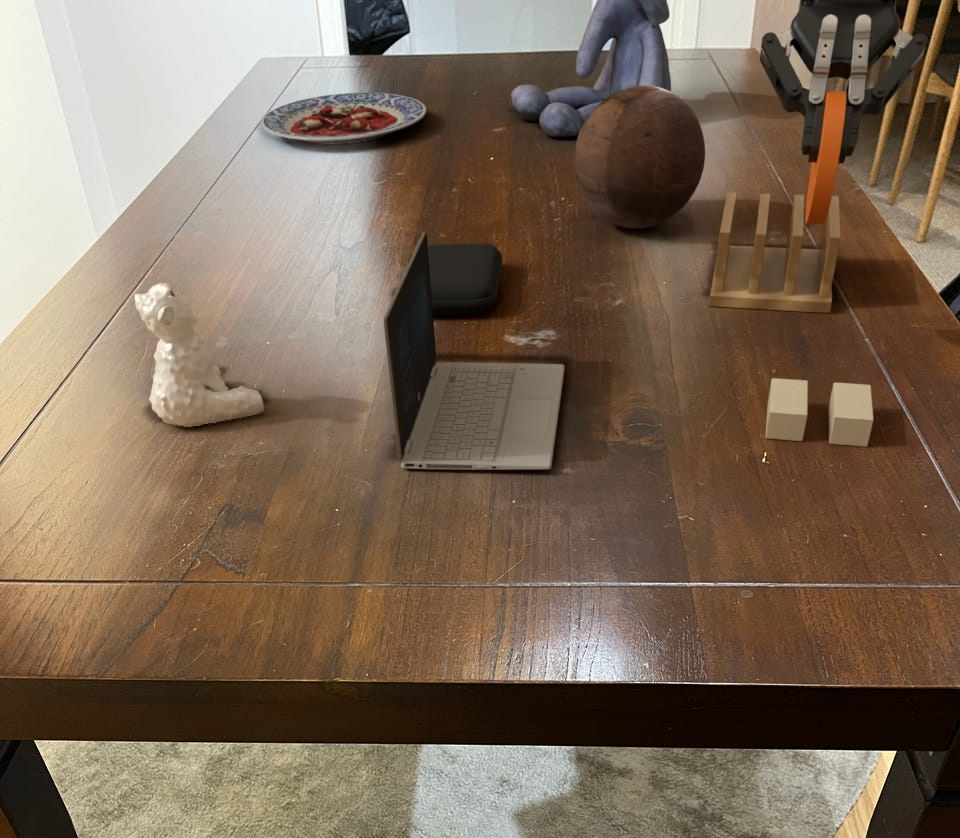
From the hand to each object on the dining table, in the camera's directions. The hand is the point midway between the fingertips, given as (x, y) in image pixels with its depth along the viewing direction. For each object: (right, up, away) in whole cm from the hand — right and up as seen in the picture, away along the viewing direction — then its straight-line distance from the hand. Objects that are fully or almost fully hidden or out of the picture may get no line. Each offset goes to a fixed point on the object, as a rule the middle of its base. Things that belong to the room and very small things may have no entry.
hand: (827, 157), depth 82 cm
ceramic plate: (-49, +42, +78) cm, 101 cm away
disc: (+1, -3, +5) cm, 6 cm away
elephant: (-10, +43, +76) cm, 88 cm away
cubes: (0, -21, +4) cm, 21 cm away
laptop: (-28, -20, +7) cm, 35 cm away
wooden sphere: (-9, +11, +41) cm, 43 cm away
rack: (+3, -1, +26) cm, 26 cm away
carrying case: (-31, -1, +28) cm, 42 cm away
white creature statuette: (-53, -19, +10) cm, 57 cm away
